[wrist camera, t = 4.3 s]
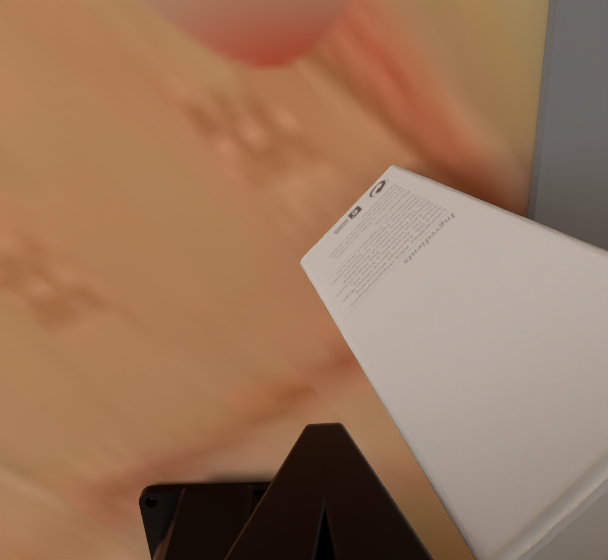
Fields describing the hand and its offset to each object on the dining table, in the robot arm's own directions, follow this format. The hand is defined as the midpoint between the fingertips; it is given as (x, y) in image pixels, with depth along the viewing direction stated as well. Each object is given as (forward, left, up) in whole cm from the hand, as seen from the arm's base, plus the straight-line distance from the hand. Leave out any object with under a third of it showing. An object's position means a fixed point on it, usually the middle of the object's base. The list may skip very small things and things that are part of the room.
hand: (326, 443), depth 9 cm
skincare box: (-1, -3, -9) cm, 10 cm away
